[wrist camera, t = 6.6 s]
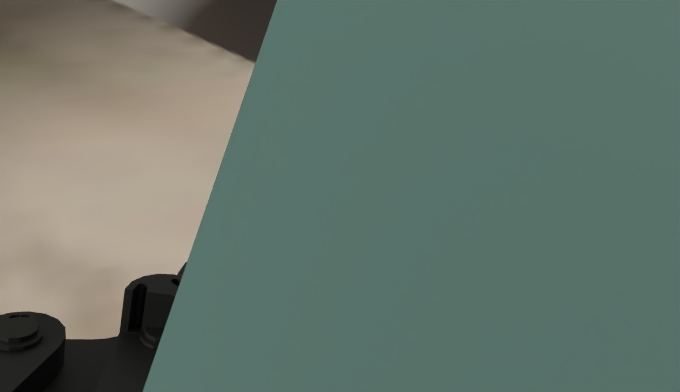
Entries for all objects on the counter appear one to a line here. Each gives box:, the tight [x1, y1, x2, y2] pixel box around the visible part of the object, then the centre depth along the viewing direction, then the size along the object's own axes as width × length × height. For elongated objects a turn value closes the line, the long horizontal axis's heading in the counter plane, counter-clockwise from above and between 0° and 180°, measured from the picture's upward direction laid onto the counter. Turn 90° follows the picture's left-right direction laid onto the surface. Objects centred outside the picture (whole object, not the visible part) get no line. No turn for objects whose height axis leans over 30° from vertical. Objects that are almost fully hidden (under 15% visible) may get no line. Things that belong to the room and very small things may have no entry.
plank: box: [143, 0, 680, 392], centre depth 12 cm, size 7×4×20 cm, turn 169°
